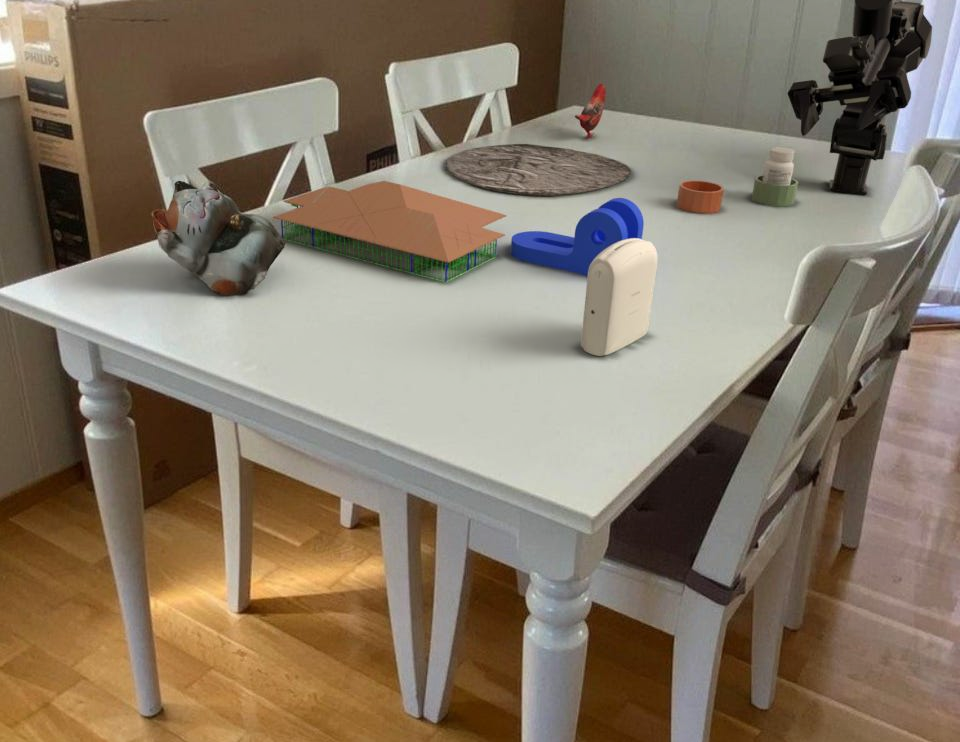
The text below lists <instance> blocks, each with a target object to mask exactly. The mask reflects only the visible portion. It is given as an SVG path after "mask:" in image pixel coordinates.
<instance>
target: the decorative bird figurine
mask: <svg viewBox="0 0 960 742" xmlns="http://www.w3.org/2000/svg"><path fill="white" fill-rule="evenodd" d="M606 91H607V90H606V86H605V84H604V83H600V84H598V85H597V86H596V88H595V89H594V91H593V93H592V95H591V98H590V99H589V101H587V103H586V105H584V108H583V109H582V111H581V112H580V114H576V115H574V118H575V119H576V120H579V125H580V127H581V128H582V129H583V130H584V131H585V132H586V133H587V135H586V137H585V139H587V140H588V139H589V138H592V137H593V136H594V134H595V132H592V133H591V131H594V130H595V128H596V127H597V126H598V125H599V123H600V121H601V119H602V115H603V112H604V107H605V100H606V94H607V93H606Z"/></svg>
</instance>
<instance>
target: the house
mask: <svg viewBox="0 0 960 742" xmlns="http://www.w3.org/2000/svg"><path fill="white" fill-rule="evenodd" d="M283 203H286V204H290V205H291V206H292V207H295V208H293V209H291V210H287V211H286V212H282V213H279V214H277V215H274V216H272V219H276V220H279V221H280V226H281V237H283V238H285V240H286V241H288V242H292V243H296V244H300V245H304V246H307V247H311V248H315V249H318V250H322V251H325V252H330V253H333V254H338V255H342V256H345V257H349V258H353V259H357V260H360V261H364V262H367V263H371V264H375V265H379V266H383V267H387V268H390V269H393V270H397V271H401V272H405V273H409V274H413V275H416V276H419V277H424V278H428V279H431V280H436V281H439V282H443V283H448V282H449V281H452V280H453V279H456V278H458V277H460V276H461V275H464V274H465V273H468V272H470V271H471V270H473V269H476V268H477V267H480V266H482V265H483V264H485V263H487V262H489V261H491V260H493V259H495V258H497V246H498V240H499V239H501V238H502V237H503V238H504V237H505V236H506V234H505V233H502V232H499V231H495V230H491V229H487V228H484V227H486V226H488V225H490V224H492V223H494V222H497V221H499V220H501V219H503V218H505V217H507V214H504V213H500V212H498V211H493V210H491V209H487V208H483V207H480V206H476V205H474V204H473V205H472V204H469V203H466V202H463V201H459V200H456V199H452V198H449V197H445V196H441V195H438V194H435V193H431V192H428V191H424V190H420V189H417V188H414V187H411V186H407V185H404V184H401V183H396V182H390V181H386V180H381V181H376V182H370V183H367V184H364V185H360V186H358V187H355V188H353V189H350V190H346V189H342V188H338V187H333V186H329V185H328V186H325V187H322V188H318V189H316V190H313V191H310V192H306V193H303V194H300V195H297V196H295V197H291V198H288V199H285V200H283ZM305 227H306V228H305ZM309 228H311V229H309ZM301 230H302V231H301ZM288 231H290V232H288ZM306 231H307V233H306ZM310 231H311V233H310ZM287 232H288V234H287ZM301 233H302V234H303V243H301V239H299V242H298V241H297V234H299V235H298V236H299V237H301ZM306 235H307V238H308V239H307V241H308V243H307V244H306V238H305V237H306ZM324 235H325V236H324ZM293 236H294V239H295V241H294V240H293ZM310 236H311V242H312V243H311V245H310ZM328 236H329V238H328ZM342 236H343V237H344V238H342ZM332 237H333V238H332ZM289 238H290V239H289ZM315 238H316V240H315ZM337 239H339V240H337ZM351 239H352V241H353V245H352V244H351V243H350V242H351ZM325 240H326V241H325ZM342 240H343V241H344V242H341V241H342ZM347 240H348V243H346V241H347ZM355 240H357V245H354V244H355ZM360 241H362V247H360ZM328 242H330V250H328V249H324V244H325V246H328ZM332 242H335V243H334V245H335V250H337V243H339V252H337V251H333V243H332ZM364 242H366V243H367V246H366V247H367V248H365V247H364ZM341 244H343V245H344V250H346V245H348V255H347V254H343V253H342V245H341ZM369 244H371V249H369ZM320 245H321V247H320ZM374 245H376V250H374ZM379 246H381V247H385V249H386V251H385V252H381V251H380V252H379V249H378V248H379ZM351 247H354V248H357V255H358V257H355V253H356V252H353V256H351ZM388 248H389V249H390V250H391V251H390V254H388ZM483 248H484V249H483ZM360 249H362V258H360ZM364 250H366V251H367V252H369V251H370V252H371V261H369V260H366V259H365V251H364ZM393 250H395V255H393ZM477 250H478V251H477ZM398 251H400V257H398ZM374 252H375V253H376V262H374ZM403 252H405V253H408V254H407V258H403V255H402V253H403ZM378 254H381V255H385V257H386V258H385V259H386V260H385V263H386V265H384V264H382V263H379V255H378ZM388 256H390V266H388ZM413 256H414V257H413ZM464 256H465V257H464ZM393 257H394V258H395V267H393ZM413 258H414V259H413ZM423 258H424V259H423ZM398 259H400V268H398V263H397V262H398ZM420 259H421V262H420ZM464 259H465V260H464ZM402 260H405V261H407V270H405V269H404V270H403V268H402V267H403V265H402V262H403V261H402ZM423 260H424V263H423ZM433 264H437V265H441V267H438V266H433ZM476 264H477V265H476ZM413 265H414V268H413ZM420 265H421V267H420ZM443 266H444V268H443ZM427 267H431V268H435V269H441V270H442V271H444V280H443V273H441V278H440V279H438V271H436V275H435V277H436V278H433V270H431V271H430V272H431V274H430V276H431V277H429V276H428V270H426V271H425V273H426V274H425V275H423V272H420V273H421V274H418V273H417V272H419V271H420V270H423V269H424V268H427ZM454 269H455V273H454ZM451 270H452V272H451ZM460 270H461V271H460ZM457 271H458V275H457ZM460 272H461V273H460ZM454 275H455V277H454ZM447 279H448V280H447Z"/></svg>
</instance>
